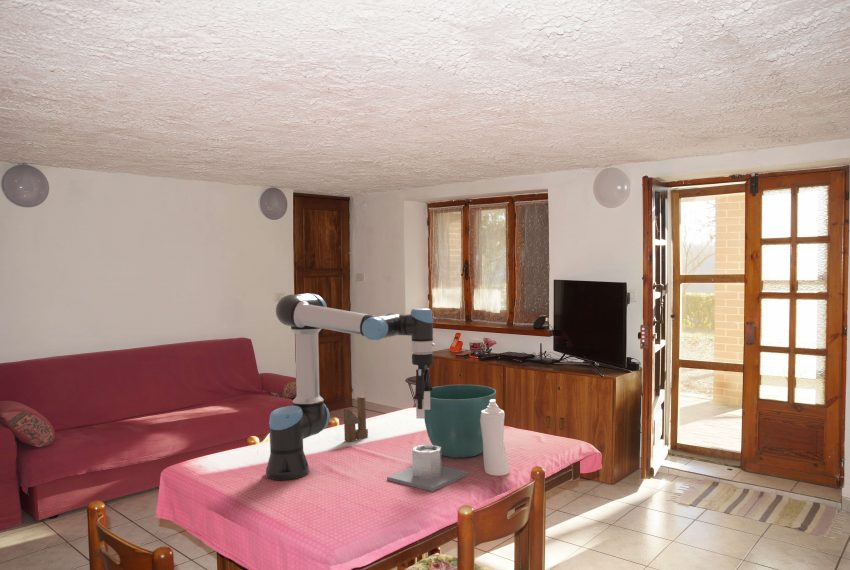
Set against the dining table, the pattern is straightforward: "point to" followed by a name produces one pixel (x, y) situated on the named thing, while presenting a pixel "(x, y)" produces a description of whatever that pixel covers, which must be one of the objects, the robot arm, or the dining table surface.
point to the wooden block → (355, 422)
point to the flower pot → (457, 418)
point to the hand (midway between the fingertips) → (423, 413)
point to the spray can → (494, 440)
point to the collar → (427, 462)
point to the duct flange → (427, 484)
